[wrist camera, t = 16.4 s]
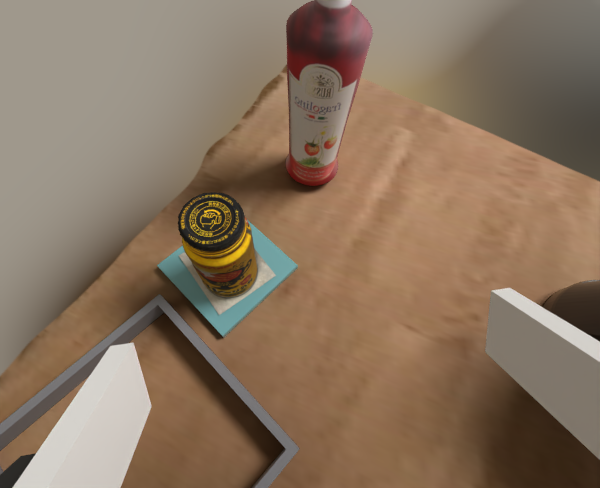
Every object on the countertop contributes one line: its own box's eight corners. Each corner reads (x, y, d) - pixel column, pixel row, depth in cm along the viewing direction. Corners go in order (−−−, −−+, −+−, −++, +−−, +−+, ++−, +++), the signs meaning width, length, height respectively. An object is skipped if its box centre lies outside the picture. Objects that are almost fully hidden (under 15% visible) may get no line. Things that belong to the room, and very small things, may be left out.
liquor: (341, 154, 47) (412, -139, 22) (333, 197, 44) (406, -91, 19) (290, 145, 47) (301, -156, 22) (278, 187, 44) (276, -111, 19)
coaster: (233, 210, 42) (232, 206, 41) (297, 268, 39) (297, 265, 38) (159, 268, 38) (156, 265, 37) (223, 337, 35) (222, 336, 34)
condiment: (219, 315, 35) (193, 273, 25) (178, 256, 38) (139, 194, 27) (276, 276, 38) (274, 221, 27) (233, 222, 40) (217, 154, 30)
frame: (166, 301, 37) (159, 293, 34) (298, 446, 31) (299, 448, 29) (-20, 456, 30) (-45, 460, 27) (108, 678, 24) (90, 705, 22)
